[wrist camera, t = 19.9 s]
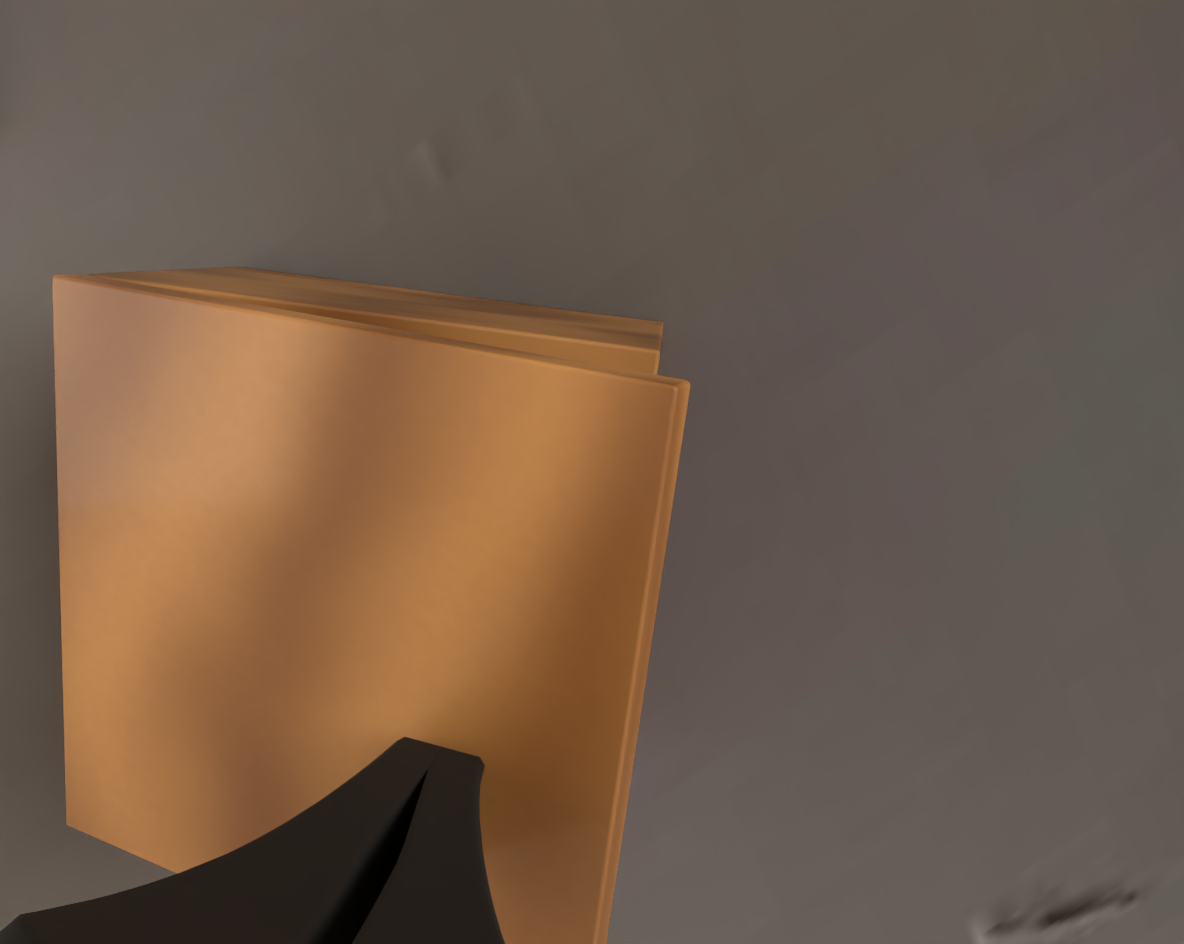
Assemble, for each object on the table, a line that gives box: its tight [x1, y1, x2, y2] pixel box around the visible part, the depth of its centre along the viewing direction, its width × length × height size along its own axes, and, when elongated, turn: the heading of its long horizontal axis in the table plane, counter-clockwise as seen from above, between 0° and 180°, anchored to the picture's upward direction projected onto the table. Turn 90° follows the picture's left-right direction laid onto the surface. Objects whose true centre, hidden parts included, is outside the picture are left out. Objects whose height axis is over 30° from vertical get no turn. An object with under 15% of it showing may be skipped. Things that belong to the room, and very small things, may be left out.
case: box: [89, 267, 663, 375], centre depth 20 cm, size 10×11×6 cm
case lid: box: [52, 275, 690, 944], centre depth 15 cm, size 11×11×1 cm
